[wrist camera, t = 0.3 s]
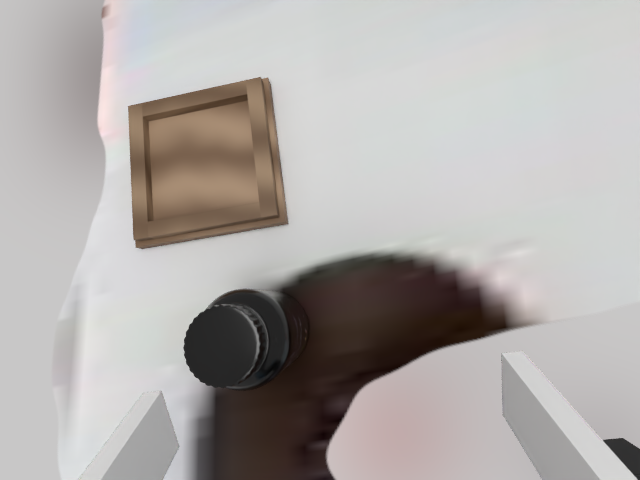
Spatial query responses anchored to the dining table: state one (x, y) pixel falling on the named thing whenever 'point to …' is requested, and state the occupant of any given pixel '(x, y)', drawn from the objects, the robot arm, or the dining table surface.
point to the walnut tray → (205, 164)
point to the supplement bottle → (246, 338)
